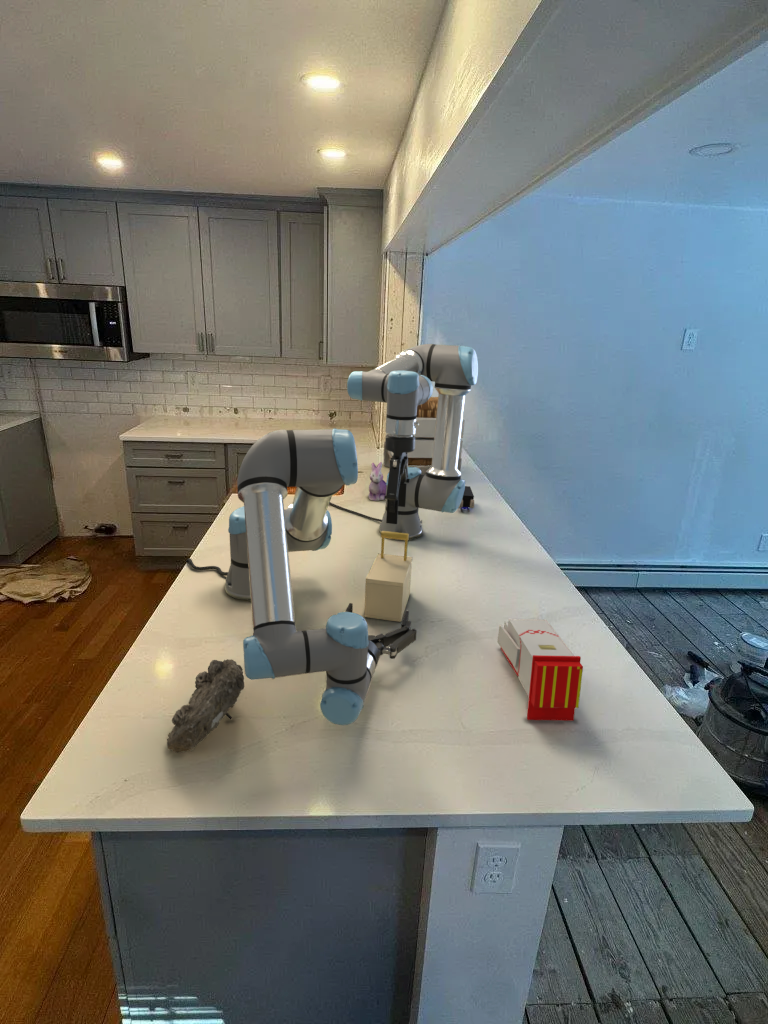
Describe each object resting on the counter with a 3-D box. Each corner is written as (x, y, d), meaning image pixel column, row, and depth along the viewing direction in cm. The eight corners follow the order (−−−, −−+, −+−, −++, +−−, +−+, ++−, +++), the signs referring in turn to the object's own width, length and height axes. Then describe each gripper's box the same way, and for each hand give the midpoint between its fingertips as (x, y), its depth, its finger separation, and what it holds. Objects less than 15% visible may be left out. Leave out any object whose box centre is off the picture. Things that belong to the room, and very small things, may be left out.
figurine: (373, 502, 230) (374, 466, 225) (362, 495, 239) (363, 460, 234) (393, 500, 234) (395, 464, 229) (382, 492, 243) (383, 458, 238)
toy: (543, 604, 136) (592, 662, 106) (538, 656, 138) (584, 727, 109) (493, 603, 135) (528, 661, 106) (489, 655, 138) (522, 726, 109)
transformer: (382, 463, 289) (386, 382, 275) (445, 464, 293) (451, 384, 279) (390, 482, 257) (394, 392, 243) (460, 483, 261) (468, 394, 247)
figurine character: (474, 517, 223) (468, 500, 237) (476, 499, 220) (470, 484, 233) (457, 516, 223) (452, 500, 236) (459, 499, 220) (454, 483, 233)
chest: (376, 590, 160) (377, 557, 156) (409, 594, 158) (411, 562, 155) (364, 616, 145) (365, 582, 142) (401, 621, 144) (403, 587, 140)
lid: (378, 556, 157) (379, 527, 154) (412, 560, 155) (414, 530, 152) (365, 582, 142) (366, 550, 139) (403, 586, 140) (405, 554, 138)
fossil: (192, 660, 117) (244, 628, 112) (224, 691, 120) (276, 661, 115) (142, 746, 98) (202, 712, 93) (182, 779, 101) (242, 748, 96)
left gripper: (299, 669, 119) (328, 618, 138) (417, 687, 115) (429, 632, 134) (299, 638, 116) (328, 591, 136) (420, 656, 112) (431, 604, 132)
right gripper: (408, 446, 130) (403, 532, 137) (421, 426, 153) (416, 501, 160) (375, 444, 131) (372, 529, 138) (394, 424, 154) (390, 498, 161)
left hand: (378, 611), depth 135 cm, fingers open, 13 cm apart
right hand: (396, 514), depth 149 cm, fingers open, 13 cm apart
